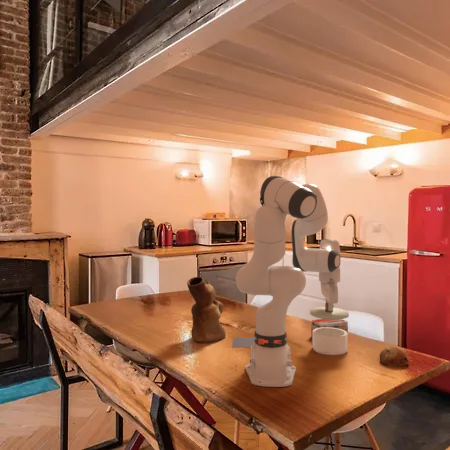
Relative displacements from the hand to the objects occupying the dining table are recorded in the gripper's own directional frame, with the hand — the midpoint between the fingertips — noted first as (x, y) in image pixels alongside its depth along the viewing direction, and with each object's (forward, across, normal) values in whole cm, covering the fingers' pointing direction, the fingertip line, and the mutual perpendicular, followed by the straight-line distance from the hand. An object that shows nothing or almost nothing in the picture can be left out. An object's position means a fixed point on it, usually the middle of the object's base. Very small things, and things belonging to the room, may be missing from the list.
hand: (329, 309), depth 174 cm
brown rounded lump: (+18, -13, -23) cm, 32 cm away
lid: (+2, 0, 0) cm, 2 cm away
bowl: (+17, 0, 0) cm, 17 cm away
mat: (+17, +6, +35) cm, 39 cm away
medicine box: (+18, +17, -3) cm, 25 cm away
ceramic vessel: (+18, +8, +55) cm, 58 cm away
